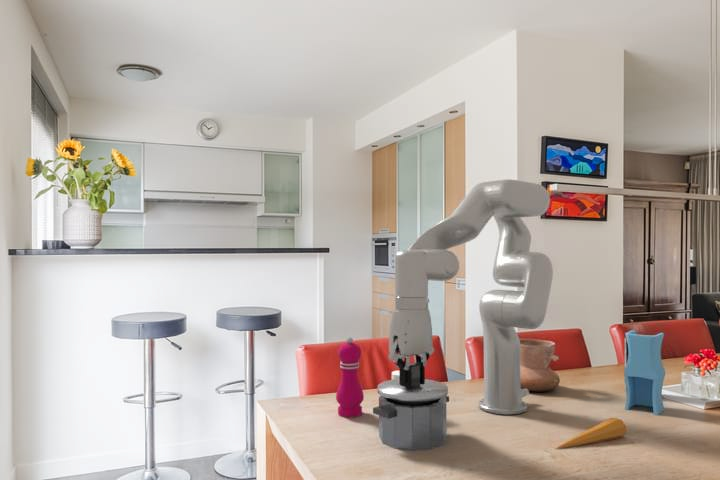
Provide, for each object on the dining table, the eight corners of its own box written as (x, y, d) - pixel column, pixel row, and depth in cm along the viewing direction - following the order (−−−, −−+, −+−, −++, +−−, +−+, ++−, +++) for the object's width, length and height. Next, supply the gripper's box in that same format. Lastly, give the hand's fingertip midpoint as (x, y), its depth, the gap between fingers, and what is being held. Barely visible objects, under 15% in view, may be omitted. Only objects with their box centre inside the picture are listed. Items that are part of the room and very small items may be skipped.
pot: (419, 420, 133) (418, 384, 133) (465, 436, 122) (465, 396, 122) (359, 438, 121) (358, 398, 121) (404, 458, 109) (404, 414, 109)
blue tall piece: (665, 408, 141) (664, 332, 142) (657, 415, 136) (656, 336, 136) (633, 402, 147) (632, 330, 147) (624, 409, 141) (623, 333, 141)
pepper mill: (360, 418, 135) (360, 339, 135) (333, 417, 136) (332, 339, 136) (366, 410, 142) (365, 335, 142) (339, 408, 143) (339, 334, 143)
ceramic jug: (573, 391, 159) (573, 343, 159) (540, 398, 151) (540, 348, 151) (526, 378, 174) (526, 335, 174) (494, 385, 167) (493, 339, 167)
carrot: (618, 437, 123) (610, 417, 124) (633, 435, 119) (624, 414, 121) (552, 460, 115) (544, 438, 116) (565, 459, 111) (557, 436, 113)
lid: (410, 385, 133) (410, 354, 133) (462, 398, 121) (462, 365, 121) (363, 397, 122) (362, 364, 122) (414, 413, 110) (414, 377, 110)
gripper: (424, 300, 130) (425, 376, 129) (373, 305, 119) (373, 387, 119) (448, 303, 124) (448, 382, 124) (396, 308, 113) (397, 394, 113)
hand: (412, 384), depth 121 cm, fingers closed on lid, 3 cm apart
